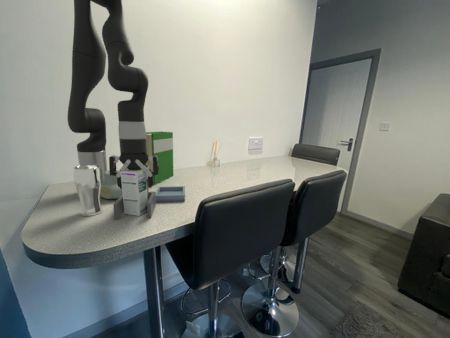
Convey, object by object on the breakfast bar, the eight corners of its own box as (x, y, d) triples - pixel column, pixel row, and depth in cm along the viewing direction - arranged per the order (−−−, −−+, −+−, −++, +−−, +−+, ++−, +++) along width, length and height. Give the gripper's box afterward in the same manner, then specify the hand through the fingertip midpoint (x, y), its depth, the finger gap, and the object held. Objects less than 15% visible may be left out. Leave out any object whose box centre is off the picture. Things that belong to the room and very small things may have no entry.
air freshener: (94, 197, 76) (91, 172, 74) (112, 191, 84) (111, 168, 82) (116, 202, 73) (114, 176, 71) (133, 195, 81) (132, 171, 78)
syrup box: (140, 216, 63) (137, 171, 60) (123, 214, 65) (119, 170, 61) (150, 209, 69) (148, 168, 66) (134, 207, 70) (132, 166, 67)
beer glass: (99, 205, 70) (95, 163, 66) (107, 212, 66) (103, 167, 62) (75, 212, 64) (69, 166, 61) (83, 219, 60) (76, 170, 57)
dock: (114, 219, 61) (113, 204, 60) (124, 205, 71) (123, 192, 70) (151, 217, 63) (150, 203, 62) (155, 204, 73) (155, 191, 72)
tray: (154, 202, 75) (154, 195, 74) (158, 192, 85) (158, 186, 85) (184, 201, 77) (184, 195, 76) (184, 191, 87) (184, 186, 87)
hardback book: (155, 184, 95) (153, 133, 90) (141, 183, 97) (138, 132, 92) (173, 175, 112) (172, 132, 107) (161, 174, 114) (160, 131, 108)
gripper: (102, 137, 56) (108, 192, 60) (155, 138, 59) (157, 190, 63) (111, 135, 64) (116, 184, 67) (158, 136, 66) (160, 183, 70)
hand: (136, 187), depth 65 cm, fingers open, 8 cm apart
